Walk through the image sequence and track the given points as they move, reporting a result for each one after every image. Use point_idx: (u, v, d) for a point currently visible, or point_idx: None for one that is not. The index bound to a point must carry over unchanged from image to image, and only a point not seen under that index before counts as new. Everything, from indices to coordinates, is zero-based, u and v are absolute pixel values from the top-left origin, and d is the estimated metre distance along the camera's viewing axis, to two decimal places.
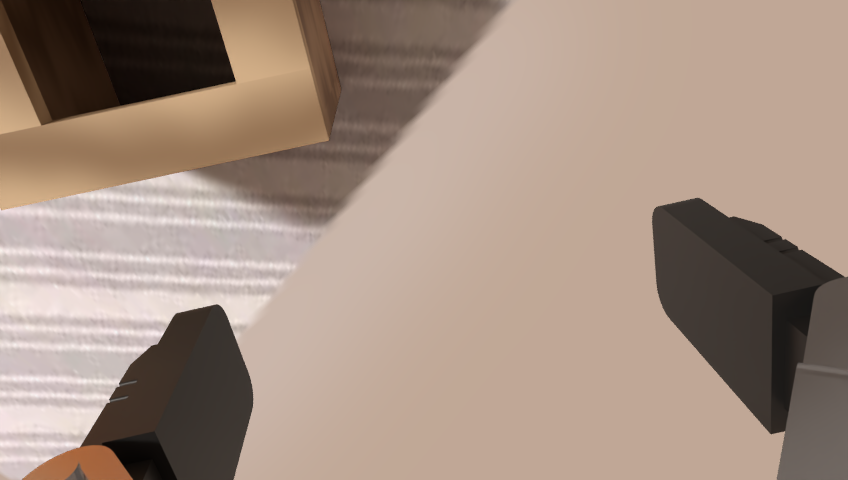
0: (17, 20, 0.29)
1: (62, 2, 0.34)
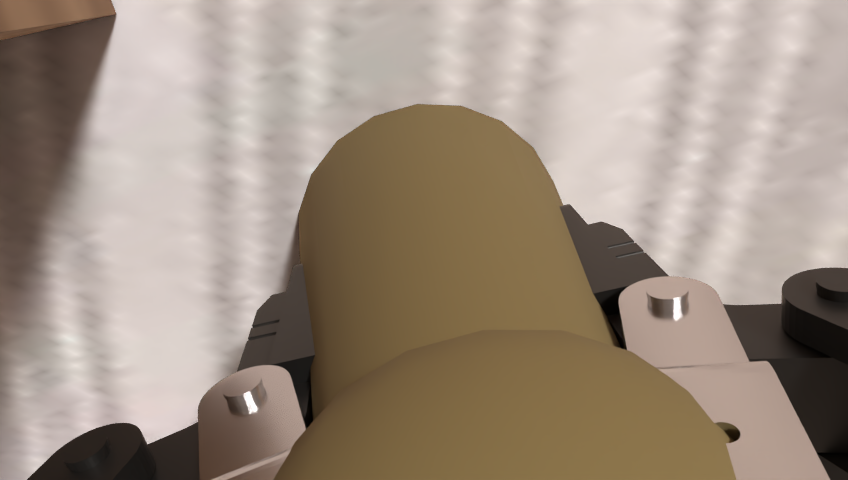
0: None
1: None
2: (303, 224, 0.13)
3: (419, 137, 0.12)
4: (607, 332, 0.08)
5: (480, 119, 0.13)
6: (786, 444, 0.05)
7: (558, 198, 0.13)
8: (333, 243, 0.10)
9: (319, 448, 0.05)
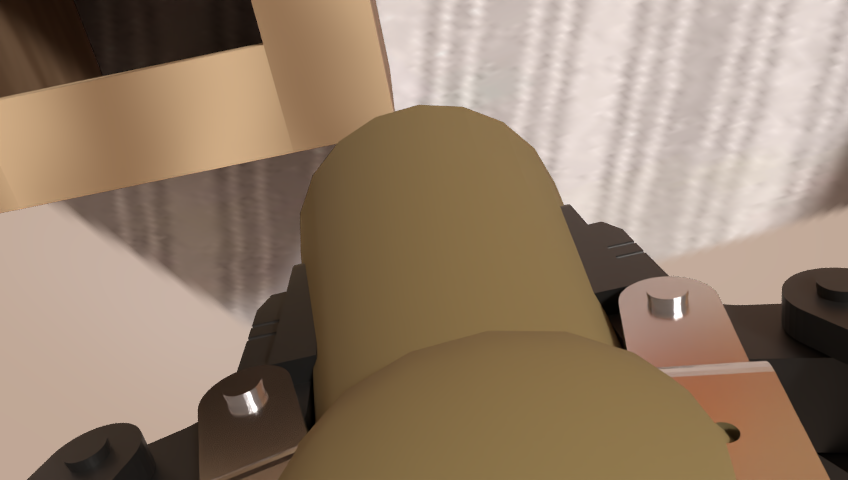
0: None
1: None
2: (305, 225, 0.13)
3: (421, 138, 0.12)
4: (609, 333, 0.08)
5: (481, 120, 0.13)
6: (786, 444, 0.05)
7: (559, 199, 0.13)
8: (335, 244, 0.10)
9: (323, 449, 0.05)
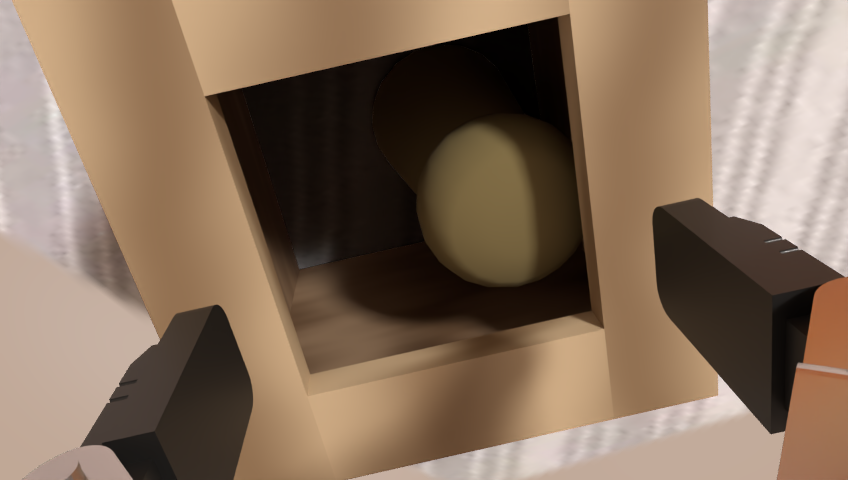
0: None
1: None
2: (381, 106, 0.25)
3: (445, 59, 0.24)
4: None
5: (471, 52, 0.26)
6: None
7: None
8: (412, 106, 0.23)
9: (447, 141, 0.18)
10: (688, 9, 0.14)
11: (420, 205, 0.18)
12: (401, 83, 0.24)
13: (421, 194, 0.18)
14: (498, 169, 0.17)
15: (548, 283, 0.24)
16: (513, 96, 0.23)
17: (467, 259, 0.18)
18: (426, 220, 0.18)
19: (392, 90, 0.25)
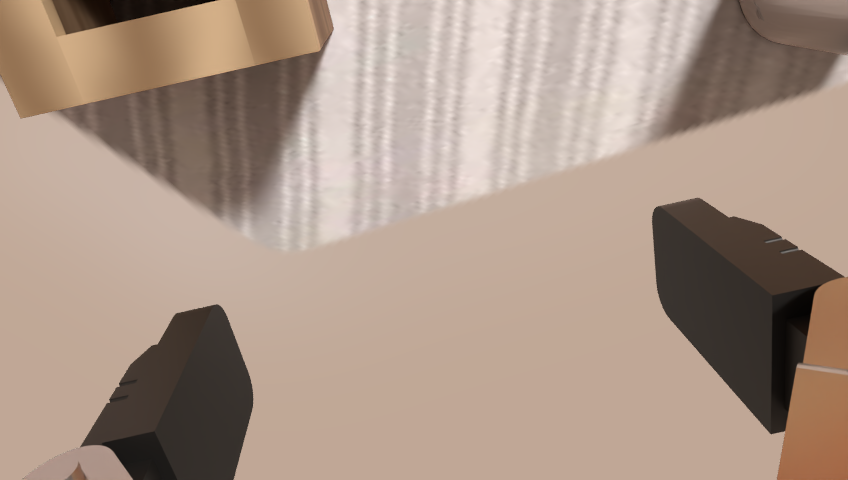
0: None
1: None
2: None
3: None
4: None
5: None
6: None
7: None
8: None
9: None
10: None
11: None
12: None
13: None
14: None
15: None
16: None
17: None
18: None
19: None
